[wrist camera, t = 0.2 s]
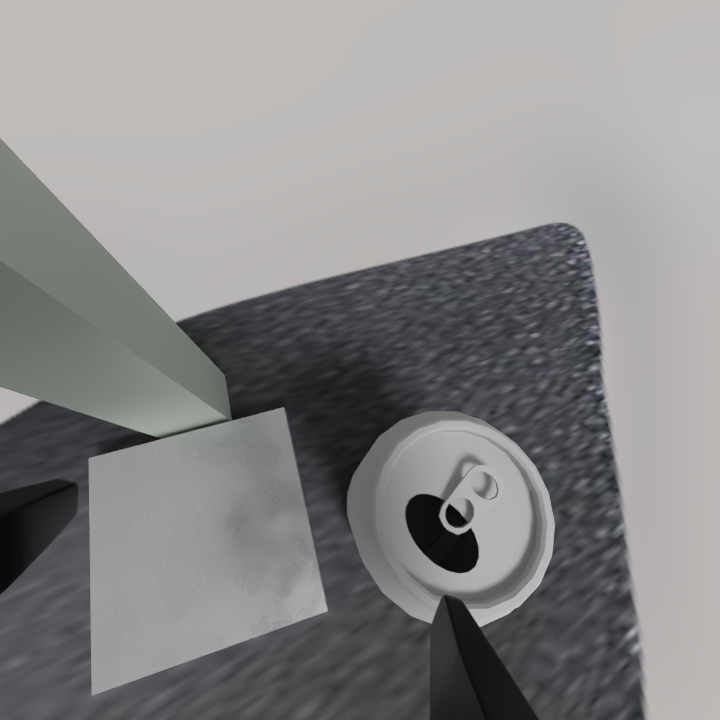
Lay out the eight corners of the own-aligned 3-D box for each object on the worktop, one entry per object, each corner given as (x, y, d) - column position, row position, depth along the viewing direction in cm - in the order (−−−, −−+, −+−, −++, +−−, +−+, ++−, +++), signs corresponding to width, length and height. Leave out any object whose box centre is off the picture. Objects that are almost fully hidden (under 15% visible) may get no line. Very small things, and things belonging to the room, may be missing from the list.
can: (321, 503, 22) (304, 511, 11) (399, 422, 24) (449, 360, 13) (407, 599, 21) (489, 720, 9) (482, 502, 23) (620, 508, 12)
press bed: (328, 603, 20) (328, 611, 19) (110, 680, 18) (91, 695, 17) (287, 412, 24) (284, 407, 23) (104, 460, 22) (88, 458, 21)
